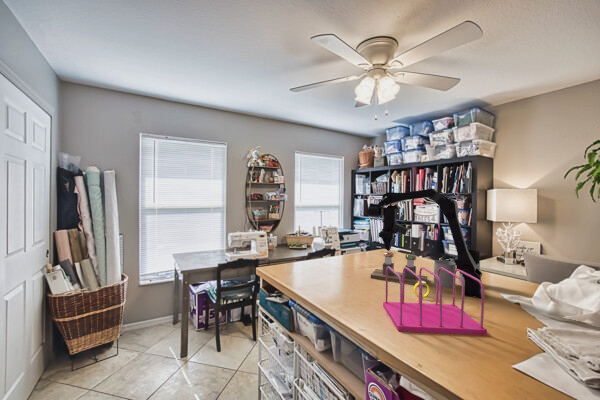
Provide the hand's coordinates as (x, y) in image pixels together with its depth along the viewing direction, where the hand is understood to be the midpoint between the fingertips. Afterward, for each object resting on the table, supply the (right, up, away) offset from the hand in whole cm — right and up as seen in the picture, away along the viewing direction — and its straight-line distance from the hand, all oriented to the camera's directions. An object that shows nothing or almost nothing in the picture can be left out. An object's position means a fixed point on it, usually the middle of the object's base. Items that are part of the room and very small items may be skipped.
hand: (388, 250), depth 128 cm
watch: (+5, -14, -24) cm, 28 cm away
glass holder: (+32, -14, -10) cm, 36 cm away
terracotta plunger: (0, -8, 0) cm, 8 cm away
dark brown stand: (+4, -13, -2) cm, 14 cm away
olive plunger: (+9, -8, -5) cm, 13 cm away
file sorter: (-2, -14, -44) cm, 46 cm away
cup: (+22, -14, -9) cm, 27 cm away
